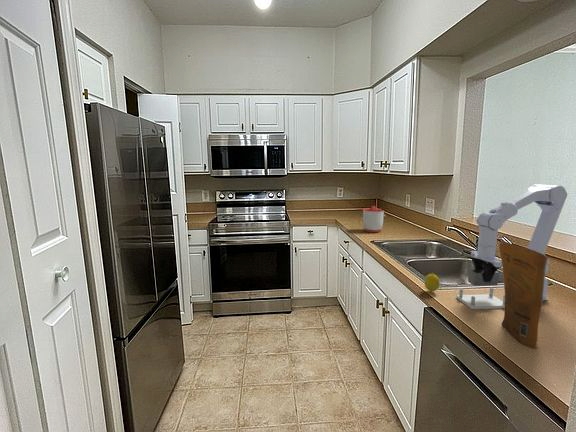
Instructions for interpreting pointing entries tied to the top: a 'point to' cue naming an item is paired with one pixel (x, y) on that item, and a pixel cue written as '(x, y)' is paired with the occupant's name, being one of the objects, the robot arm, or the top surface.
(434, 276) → the lemon
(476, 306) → the tray
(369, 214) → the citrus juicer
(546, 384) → the top surface
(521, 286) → the pancake mix bag
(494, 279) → the block
